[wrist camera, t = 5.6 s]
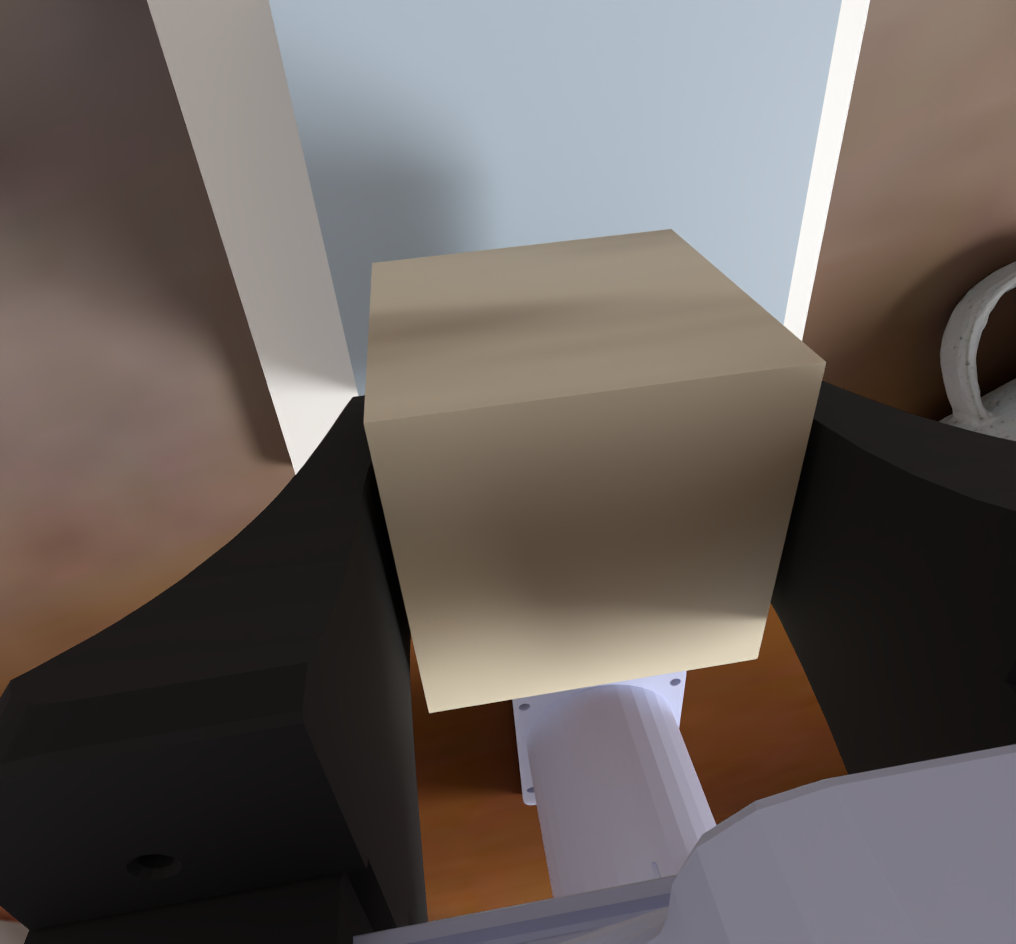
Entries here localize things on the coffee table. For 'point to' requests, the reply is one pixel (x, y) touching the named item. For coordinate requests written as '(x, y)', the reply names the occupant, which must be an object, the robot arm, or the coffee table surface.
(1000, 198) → the coffee table surface
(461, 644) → the birch cube
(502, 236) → the plinth base
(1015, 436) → the ceramic mug
